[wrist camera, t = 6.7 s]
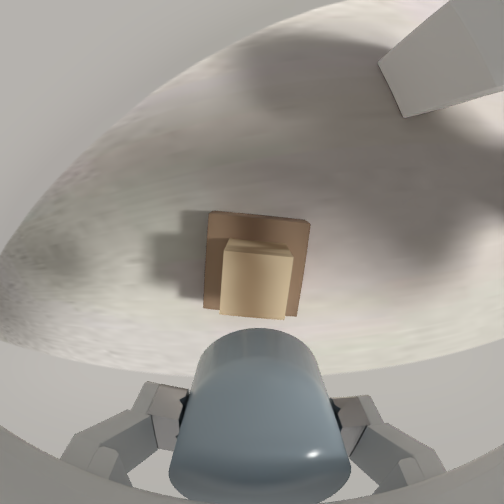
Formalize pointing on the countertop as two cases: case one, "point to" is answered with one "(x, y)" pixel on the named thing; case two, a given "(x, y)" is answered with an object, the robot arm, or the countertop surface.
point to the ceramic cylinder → (259, 425)
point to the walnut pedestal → (257, 230)
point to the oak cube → (255, 279)
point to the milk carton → (448, 58)
